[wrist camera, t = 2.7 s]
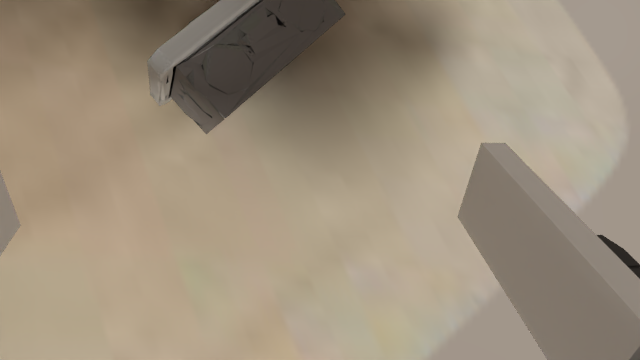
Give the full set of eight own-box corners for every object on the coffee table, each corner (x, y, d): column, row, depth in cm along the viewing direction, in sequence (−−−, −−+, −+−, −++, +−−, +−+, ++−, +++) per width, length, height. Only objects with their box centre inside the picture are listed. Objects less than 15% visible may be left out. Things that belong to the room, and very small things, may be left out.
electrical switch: (265, 5, 28) (286, -103, 19) (321, 65, 28) (368, -14, 19) (149, 98, 26) (112, 25, 17) (211, 162, 26) (207, 124, 17)
